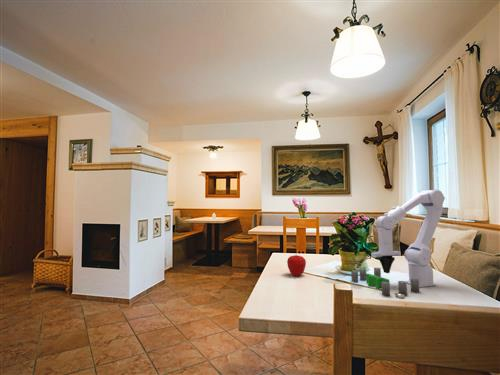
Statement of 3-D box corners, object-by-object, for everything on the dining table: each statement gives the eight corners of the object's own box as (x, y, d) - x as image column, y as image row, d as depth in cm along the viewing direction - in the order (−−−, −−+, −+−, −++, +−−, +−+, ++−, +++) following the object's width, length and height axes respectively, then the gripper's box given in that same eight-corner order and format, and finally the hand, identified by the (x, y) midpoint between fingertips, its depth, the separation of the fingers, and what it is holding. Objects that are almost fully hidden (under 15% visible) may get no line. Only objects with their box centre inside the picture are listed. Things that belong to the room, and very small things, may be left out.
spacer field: (378, 277, 133) (378, 267, 134) (423, 293, 109) (422, 280, 110) (348, 280, 129) (348, 269, 129) (388, 298, 105) (388, 285, 105)
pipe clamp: (362, 284, 123) (362, 274, 123) (368, 283, 124) (367, 273, 125) (384, 291, 113) (383, 280, 113) (390, 290, 114) (389, 279, 115)
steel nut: (398, 295, 108) (398, 292, 108) (406, 298, 105) (406, 294, 105) (393, 297, 106) (393, 293, 106) (401, 299, 103) (401, 296, 103)
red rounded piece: (307, 277, 134) (307, 256, 134) (288, 278, 134) (288, 256, 134) (304, 272, 143) (303, 252, 144) (286, 272, 144) (286, 252, 144)
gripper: (391, 240, 127) (392, 269, 126) (366, 242, 123) (367, 271, 122) (403, 242, 120) (405, 273, 119) (377, 244, 116) (378, 275, 116)
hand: (386, 272), depth 120 cm, fingers closed
